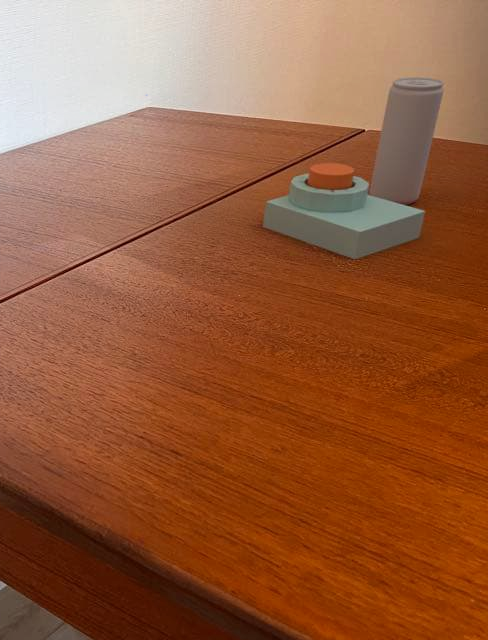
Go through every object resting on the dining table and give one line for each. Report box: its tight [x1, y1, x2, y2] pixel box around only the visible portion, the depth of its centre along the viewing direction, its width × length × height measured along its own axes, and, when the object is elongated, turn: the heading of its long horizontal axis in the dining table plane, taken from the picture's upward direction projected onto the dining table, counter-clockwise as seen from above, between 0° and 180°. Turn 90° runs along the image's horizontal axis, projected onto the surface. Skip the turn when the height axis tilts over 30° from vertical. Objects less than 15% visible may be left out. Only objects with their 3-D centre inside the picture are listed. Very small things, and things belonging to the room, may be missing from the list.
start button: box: [307, 162, 355, 190], centre depth 83 cm, size 4×4×2 cm
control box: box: [262, 172, 426, 260], centre depth 83 cm, size 11×9×4 cm
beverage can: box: [368, 76, 445, 206], centre depth 88 cm, size 5×5×12 cm
